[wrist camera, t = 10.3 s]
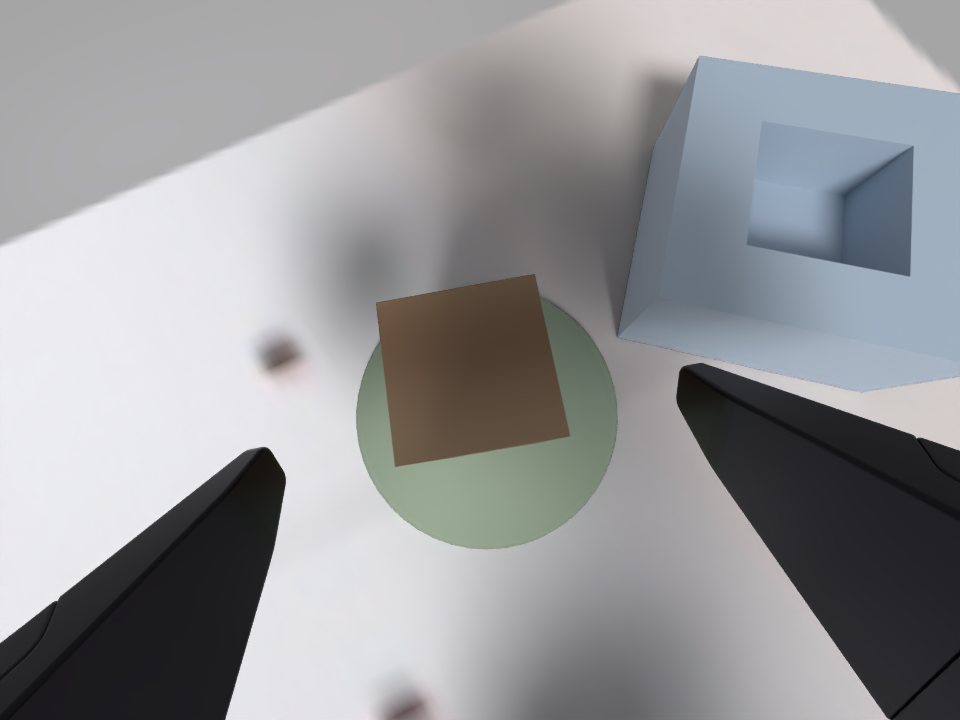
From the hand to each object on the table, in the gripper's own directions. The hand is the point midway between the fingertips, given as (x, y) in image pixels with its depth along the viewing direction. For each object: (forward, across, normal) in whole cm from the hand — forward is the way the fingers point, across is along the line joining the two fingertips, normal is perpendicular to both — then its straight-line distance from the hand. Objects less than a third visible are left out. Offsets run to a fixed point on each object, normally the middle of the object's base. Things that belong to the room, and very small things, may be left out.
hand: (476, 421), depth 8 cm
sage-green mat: (+8, 0, +6) cm, 10 cm away
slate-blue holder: (+11, -14, +2) cm, 18 cm away
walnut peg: (+8, 0, +6) cm, 10 cm away
